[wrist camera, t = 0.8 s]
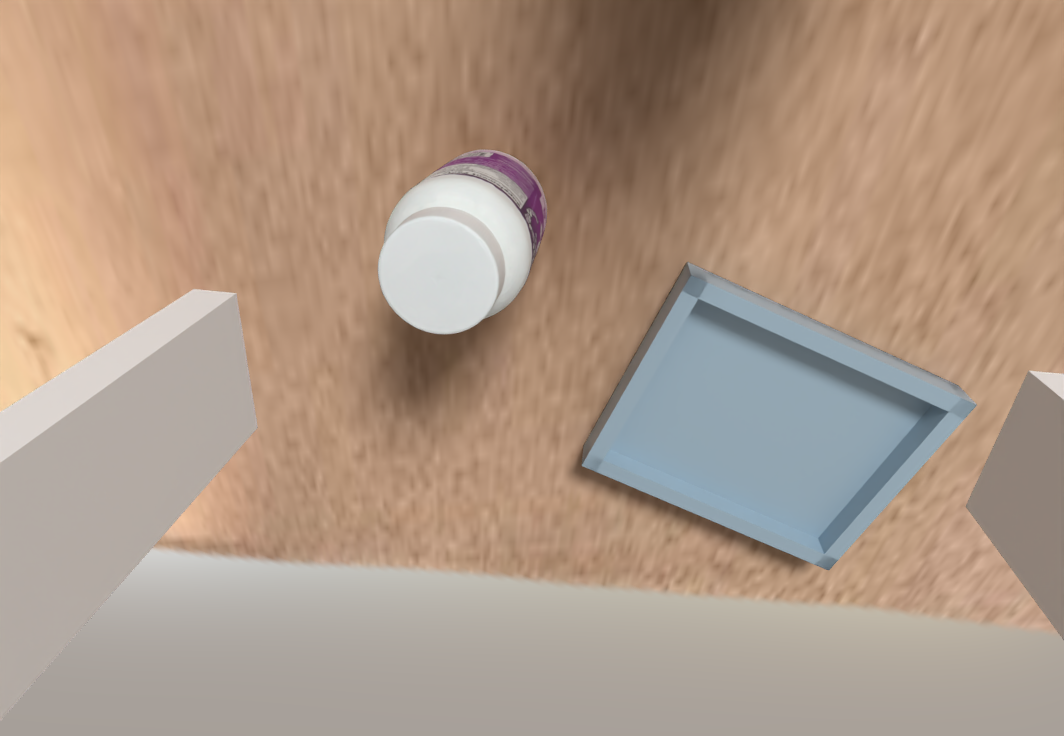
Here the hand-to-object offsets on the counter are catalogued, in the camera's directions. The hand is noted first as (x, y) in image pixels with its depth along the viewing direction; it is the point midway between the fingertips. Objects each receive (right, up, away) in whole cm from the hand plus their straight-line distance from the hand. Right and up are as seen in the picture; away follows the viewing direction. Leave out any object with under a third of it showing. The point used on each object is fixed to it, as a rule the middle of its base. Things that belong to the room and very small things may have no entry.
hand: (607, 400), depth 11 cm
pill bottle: (-3, +8, +18) cm, 20 cm away
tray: (+10, -2, +21) cm, 23 cm away
